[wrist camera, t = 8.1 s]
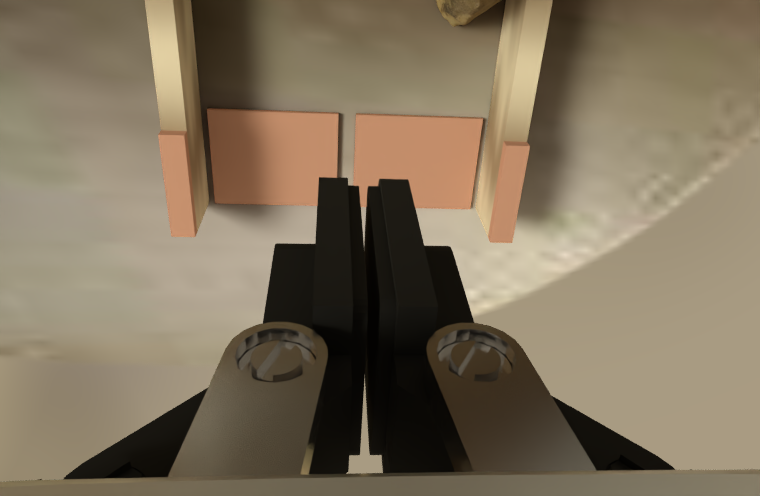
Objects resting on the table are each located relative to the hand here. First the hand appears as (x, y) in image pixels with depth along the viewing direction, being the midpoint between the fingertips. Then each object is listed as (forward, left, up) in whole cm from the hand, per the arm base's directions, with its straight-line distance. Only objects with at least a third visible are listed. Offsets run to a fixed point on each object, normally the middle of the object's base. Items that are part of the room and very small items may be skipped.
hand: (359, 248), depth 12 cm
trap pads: (+5, 0, -17) cm, 18 cm away
